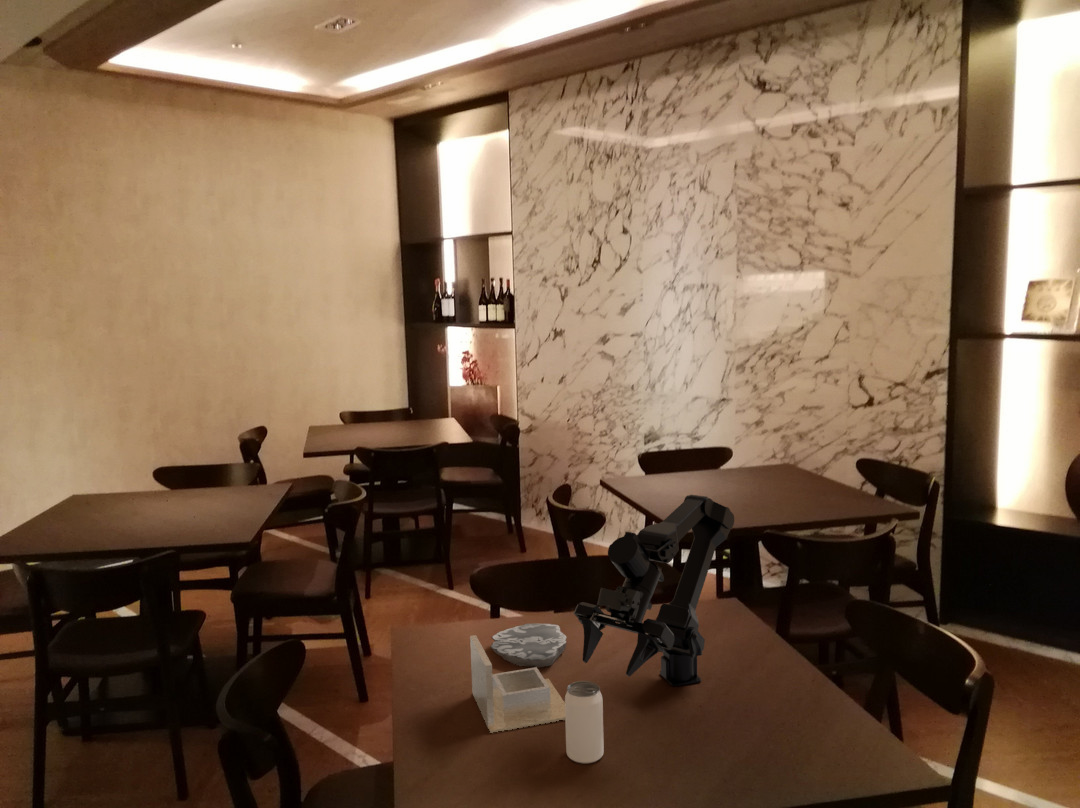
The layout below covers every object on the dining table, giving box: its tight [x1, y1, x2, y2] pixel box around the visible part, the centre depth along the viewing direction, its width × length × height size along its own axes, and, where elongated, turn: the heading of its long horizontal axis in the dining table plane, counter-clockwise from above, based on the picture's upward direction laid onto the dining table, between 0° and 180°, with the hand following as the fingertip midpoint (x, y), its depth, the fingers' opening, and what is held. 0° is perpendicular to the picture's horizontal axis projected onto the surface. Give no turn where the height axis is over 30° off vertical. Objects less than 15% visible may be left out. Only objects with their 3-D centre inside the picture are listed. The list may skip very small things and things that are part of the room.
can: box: [564, 680, 605, 765], centre depth 137 cm, size 6×6×12 cm
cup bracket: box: [469, 634, 565, 734], centre depth 155 cm, size 16×16×13 cm
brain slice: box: [490, 623, 567, 669], centre depth 179 cm, size 20×17×3 cm
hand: (605, 668), depth 142 cm, fingers open, 9 cm apart
